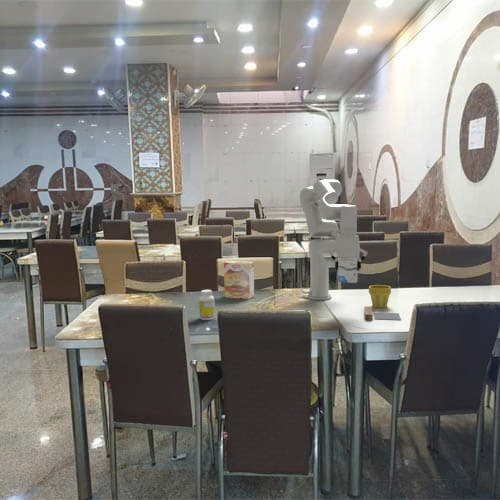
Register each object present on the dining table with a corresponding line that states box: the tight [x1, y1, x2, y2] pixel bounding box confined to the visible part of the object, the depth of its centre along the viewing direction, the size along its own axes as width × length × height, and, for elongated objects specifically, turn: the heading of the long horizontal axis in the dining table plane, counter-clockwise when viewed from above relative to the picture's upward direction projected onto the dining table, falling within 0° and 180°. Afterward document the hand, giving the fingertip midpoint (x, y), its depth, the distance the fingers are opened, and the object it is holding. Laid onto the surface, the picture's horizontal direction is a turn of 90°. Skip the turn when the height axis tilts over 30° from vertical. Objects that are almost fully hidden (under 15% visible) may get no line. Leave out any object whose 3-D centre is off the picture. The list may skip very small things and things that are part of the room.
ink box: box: [337, 257, 359, 284], centre depth 208 cm, size 9×5×15 cm, turn 70°
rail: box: [363, 306, 374, 321], centre depth 204 cm, size 3×15×2 cm, turn 168°
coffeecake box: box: [223, 260, 255, 300], centre depth 247 cm, size 15×7×20 cm, turn 68°
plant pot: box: [368, 284, 392, 309], centre depth 221 cm, size 10×10×10 cm
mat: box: [373, 312, 402, 321], centre depth 203 cm, size 11×11×1 cm
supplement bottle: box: [198, 289, 216, 321], centre depth 204 cm, size 7×7×13 cm
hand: (348, 270), depth 208 cm, fingers closed on ink box, 9 cm apart
